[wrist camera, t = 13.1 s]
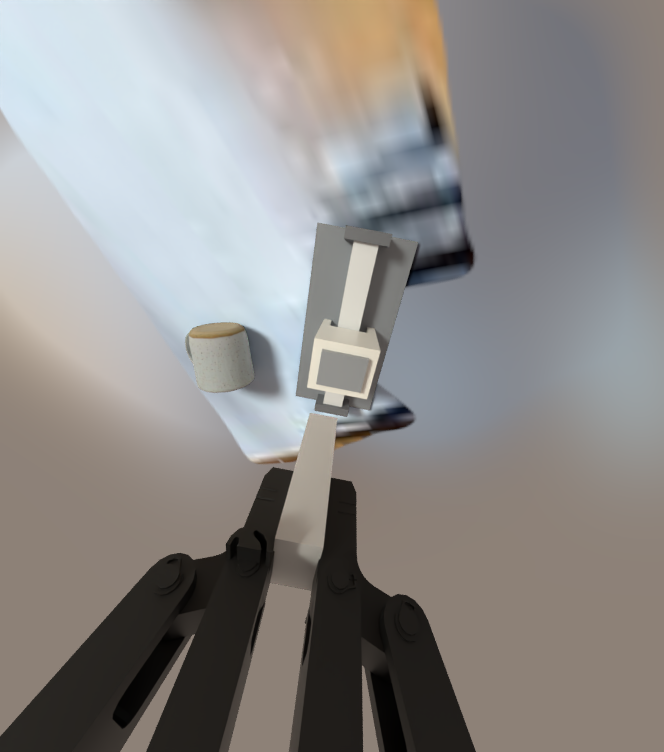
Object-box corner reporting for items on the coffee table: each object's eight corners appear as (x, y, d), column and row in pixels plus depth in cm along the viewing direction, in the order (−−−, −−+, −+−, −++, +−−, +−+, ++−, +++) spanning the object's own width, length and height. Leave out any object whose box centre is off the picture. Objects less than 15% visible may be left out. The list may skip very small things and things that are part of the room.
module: (324, 318, 34) (313, 339, 25) (374, 328, 34) (381, 353, 25) (317, 359, 36) (305, 391, 28) (364, 368, 36) (366, 403, 28)
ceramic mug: (253, 319, 35) (227, 334, 28) (262, 371, 39) (241, 396, 32) (184, 320, 36) (143, 334, 29) (199, 370, 40) (165, 394, 33)
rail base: (318, 223, 29) (313, 219, 26) (417, 242, 29) (424, 240, 26) (296, 394, 40) (291, 405, 37) (369, 408, 40) (370, 421, 37)
